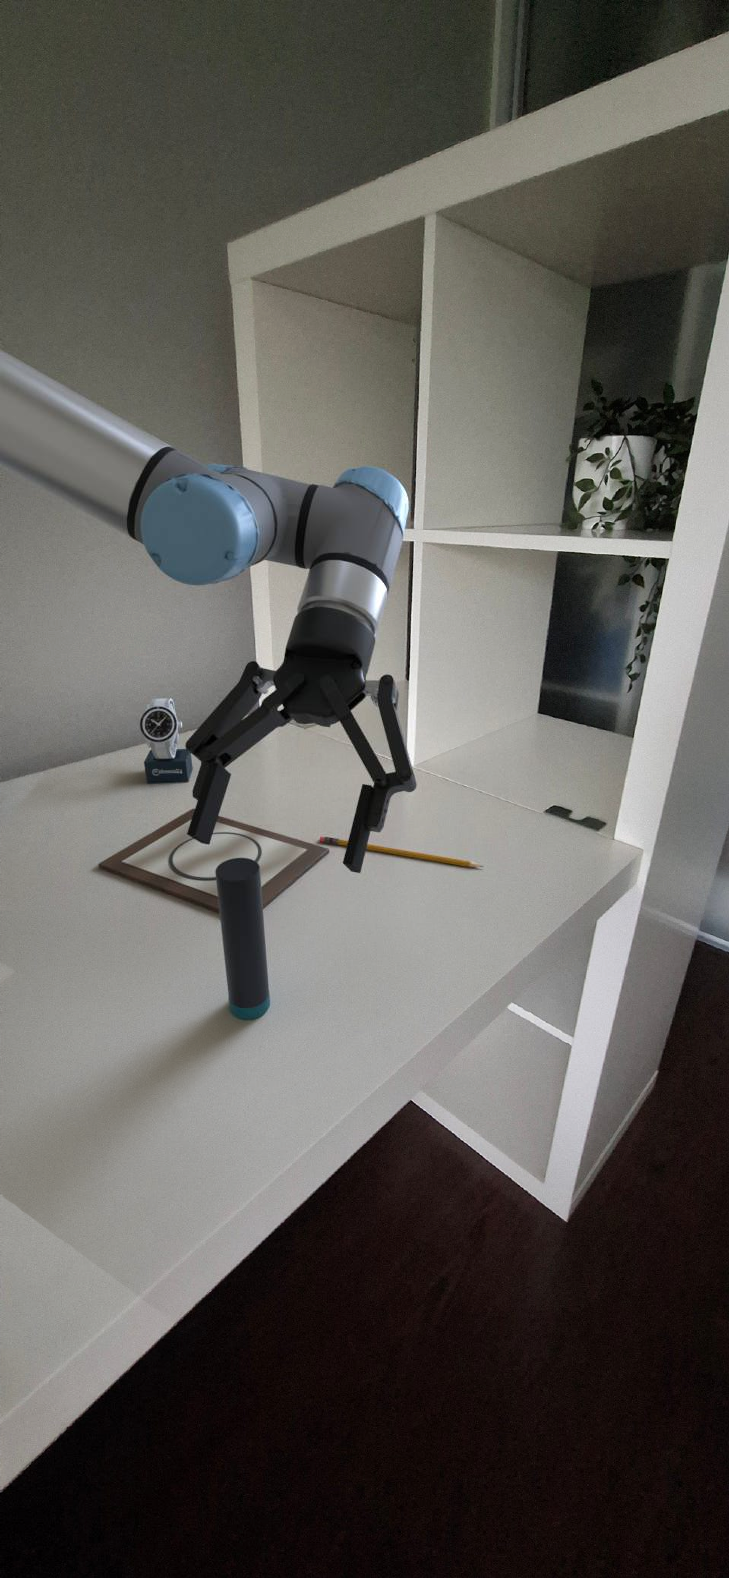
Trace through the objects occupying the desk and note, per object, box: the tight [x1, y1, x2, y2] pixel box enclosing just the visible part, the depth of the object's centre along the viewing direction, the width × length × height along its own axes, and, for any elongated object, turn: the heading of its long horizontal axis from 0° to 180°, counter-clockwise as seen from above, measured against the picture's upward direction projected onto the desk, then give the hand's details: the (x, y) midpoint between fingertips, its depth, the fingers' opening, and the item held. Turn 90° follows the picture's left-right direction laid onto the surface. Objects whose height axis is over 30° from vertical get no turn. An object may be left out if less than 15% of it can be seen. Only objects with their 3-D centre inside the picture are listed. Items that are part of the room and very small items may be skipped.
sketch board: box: [97, 808, 330, 914], centre depth 76 cm, size 20×15×1 cm
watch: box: [139, 697, 194, 784], centre depth 93 cm, size 6×8×11 cm
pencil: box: [319, 835, 485, 868], centre depth 77 cm, size 19×1×1 cm, turn 72°
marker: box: [215, 858, 271, 1021], centre depth 53 cm, size 3×3×13 cm
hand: (272, 854), depth 55 cm, fingers open, 13 cm apart
